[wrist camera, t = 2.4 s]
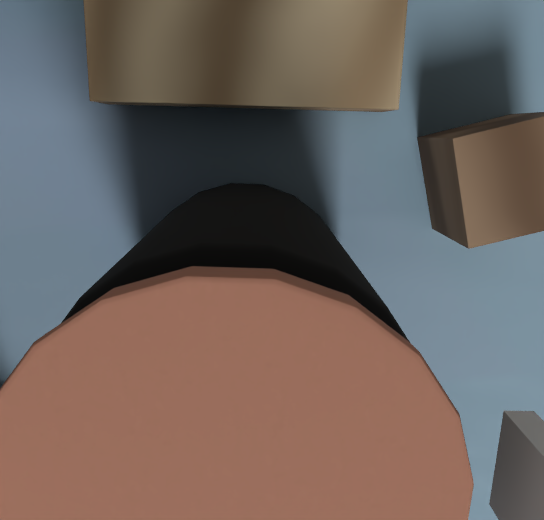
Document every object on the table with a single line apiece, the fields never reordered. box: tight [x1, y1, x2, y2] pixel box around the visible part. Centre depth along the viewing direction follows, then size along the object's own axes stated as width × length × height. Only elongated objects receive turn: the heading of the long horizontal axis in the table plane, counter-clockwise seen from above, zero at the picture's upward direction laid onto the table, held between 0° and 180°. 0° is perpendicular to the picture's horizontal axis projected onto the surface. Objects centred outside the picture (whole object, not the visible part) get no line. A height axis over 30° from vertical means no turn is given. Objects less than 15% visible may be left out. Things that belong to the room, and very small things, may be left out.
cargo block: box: [417, 112, 544, 249], centre depth 25 cm, size 5×5×5 cm
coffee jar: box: [0, 183, 474, 520], centre depth 19 cm, size 11×11×18 cm
